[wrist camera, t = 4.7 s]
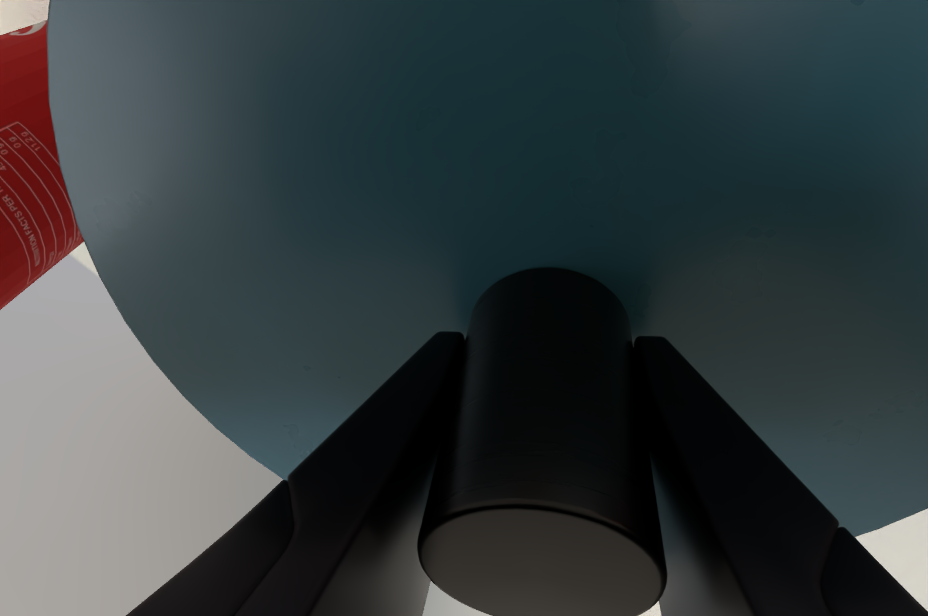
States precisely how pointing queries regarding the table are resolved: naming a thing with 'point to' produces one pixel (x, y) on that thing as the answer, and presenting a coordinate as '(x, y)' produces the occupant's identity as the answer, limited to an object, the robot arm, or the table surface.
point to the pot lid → (520, 244)
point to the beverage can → (29, 168)
